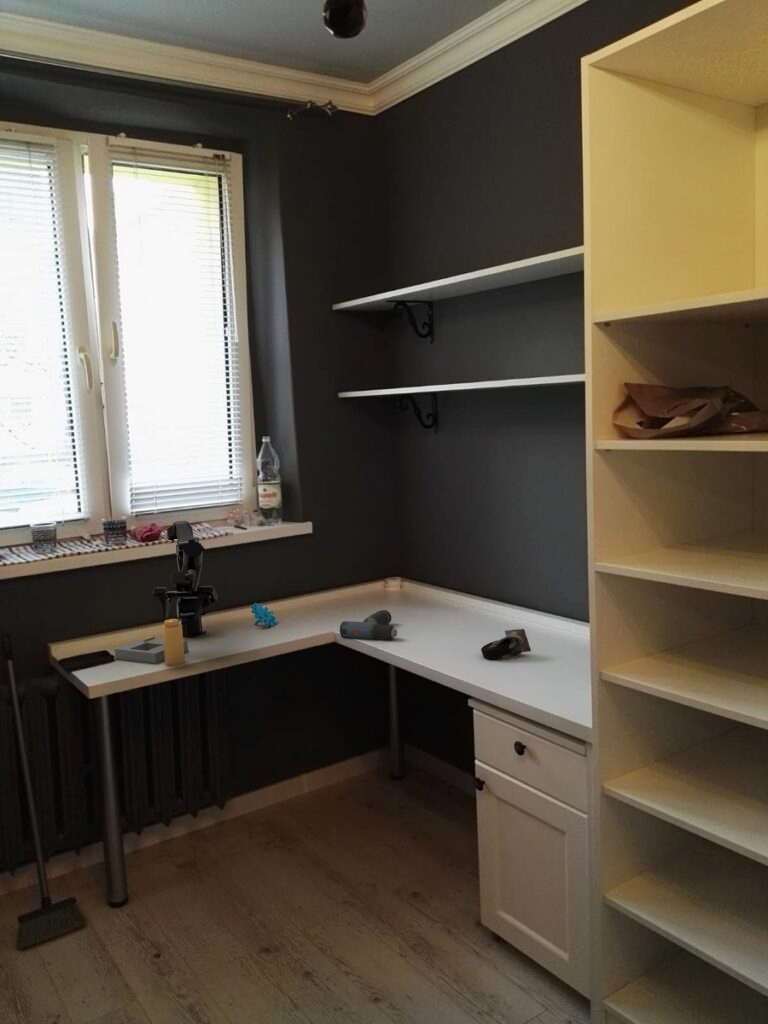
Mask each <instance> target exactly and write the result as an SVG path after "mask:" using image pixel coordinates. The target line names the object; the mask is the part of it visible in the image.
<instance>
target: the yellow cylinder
mask: <svg viewBox="0 0 768 1024" xmlns="http://www.w3.org/2000/svg"><path fill="white" fill-rule="evenodd" d="M163 622H164V624H163V625H162V626H161V631H162V638H163V646H164V657H165V660H164V665H165V664H166V665H165V666H168V665H175V666H179V664H180V665H183V664H185V663H186V661H185V659H186V658H185V652H184V645H183V641H184V636H183V633H182V624H181V622H179V618H169V619H167V620H164V621H163Z"/></svg>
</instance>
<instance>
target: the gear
mask: <svg viewBox="0 0 768 1024" xmlns="http://www.w3.org/2000/svg"><path fill="white" fill-rule="evenodd" d="M263 606H264V605H263V604H262V603H256V602H254V603H253V604H252V605H251V606H250V608H251V611H250V612H251V613H252V614H254V615H253V617H254V618H255V619H256V621H255V622H254V623H253V625H254V626H255V625H256V626H258V624H259V623H260V624H263V623H264V626H265V627H271V626H273V627H274V626H275V625H276V623H277V621H276V620H277V618H276V617H277V616H274V615H273V614H274V613H275V611H274V610H273V609H272V610H270V611H268V610H269V607H268V606H265V607H264V608H263ZM274 624H275V625H274Z"/></svg>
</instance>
